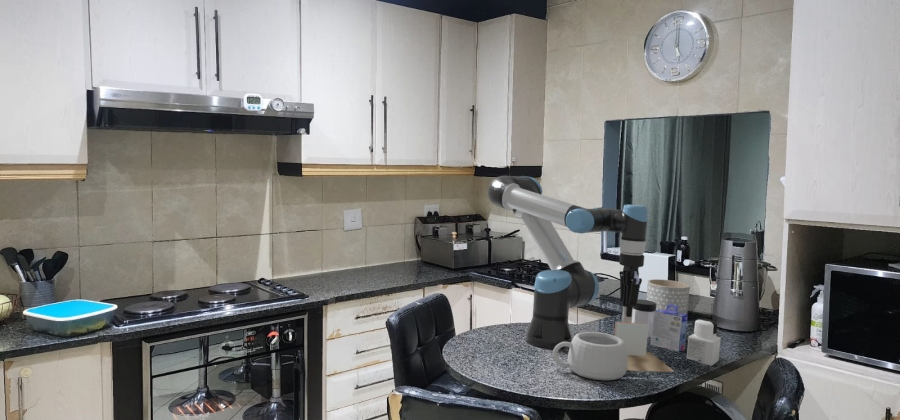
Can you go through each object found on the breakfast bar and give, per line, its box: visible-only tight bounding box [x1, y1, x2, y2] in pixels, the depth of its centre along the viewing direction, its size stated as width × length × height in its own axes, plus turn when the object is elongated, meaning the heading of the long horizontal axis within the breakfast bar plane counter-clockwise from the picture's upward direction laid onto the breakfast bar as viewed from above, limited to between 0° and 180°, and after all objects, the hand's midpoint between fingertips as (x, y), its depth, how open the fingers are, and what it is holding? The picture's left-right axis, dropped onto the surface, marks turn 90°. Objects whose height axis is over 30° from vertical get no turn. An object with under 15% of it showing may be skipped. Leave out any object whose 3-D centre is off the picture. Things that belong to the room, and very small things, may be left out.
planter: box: [645, 279, 691, 315], centre depth 252 cm, size 16×16×13 cm
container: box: [686, 318, 722, 367], centre depth 191 cm, size 8×8×13 cm
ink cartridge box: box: [650, 304, 689, 352], centre depth 202 cm, size 10×6×14 cm, turn 49°
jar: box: [632, 298, 656, 339], centre depth 217 cm, size 9×8×12 cm
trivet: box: [626, 351, 675, 373], centre depth 185 cm, size 16×18×1 cm
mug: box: [552, 331, 628, 381], centre depth 173 cm, size 21×17×10 cm
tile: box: [614, 321, 648, 356], centre depth 191 cm, size 10×2×10 cm, turn 94°
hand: (626, 325), depth 195 cm, fingers closed
